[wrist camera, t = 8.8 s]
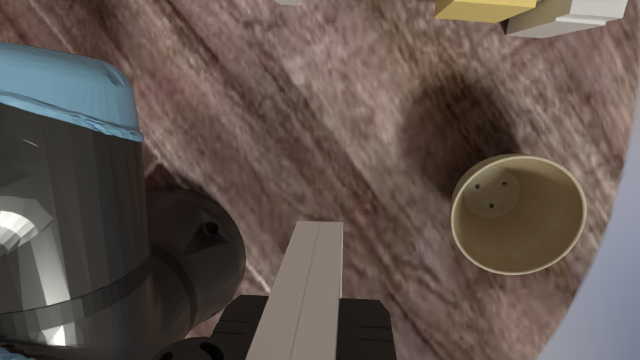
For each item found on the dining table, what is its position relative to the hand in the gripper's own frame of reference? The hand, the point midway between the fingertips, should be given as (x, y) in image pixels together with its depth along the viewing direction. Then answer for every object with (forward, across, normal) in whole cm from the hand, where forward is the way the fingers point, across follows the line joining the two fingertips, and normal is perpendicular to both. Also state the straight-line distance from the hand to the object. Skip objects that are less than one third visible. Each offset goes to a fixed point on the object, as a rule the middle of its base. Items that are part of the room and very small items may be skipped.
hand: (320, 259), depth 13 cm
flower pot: (+25, +14, -5) cm, 29 cm away
